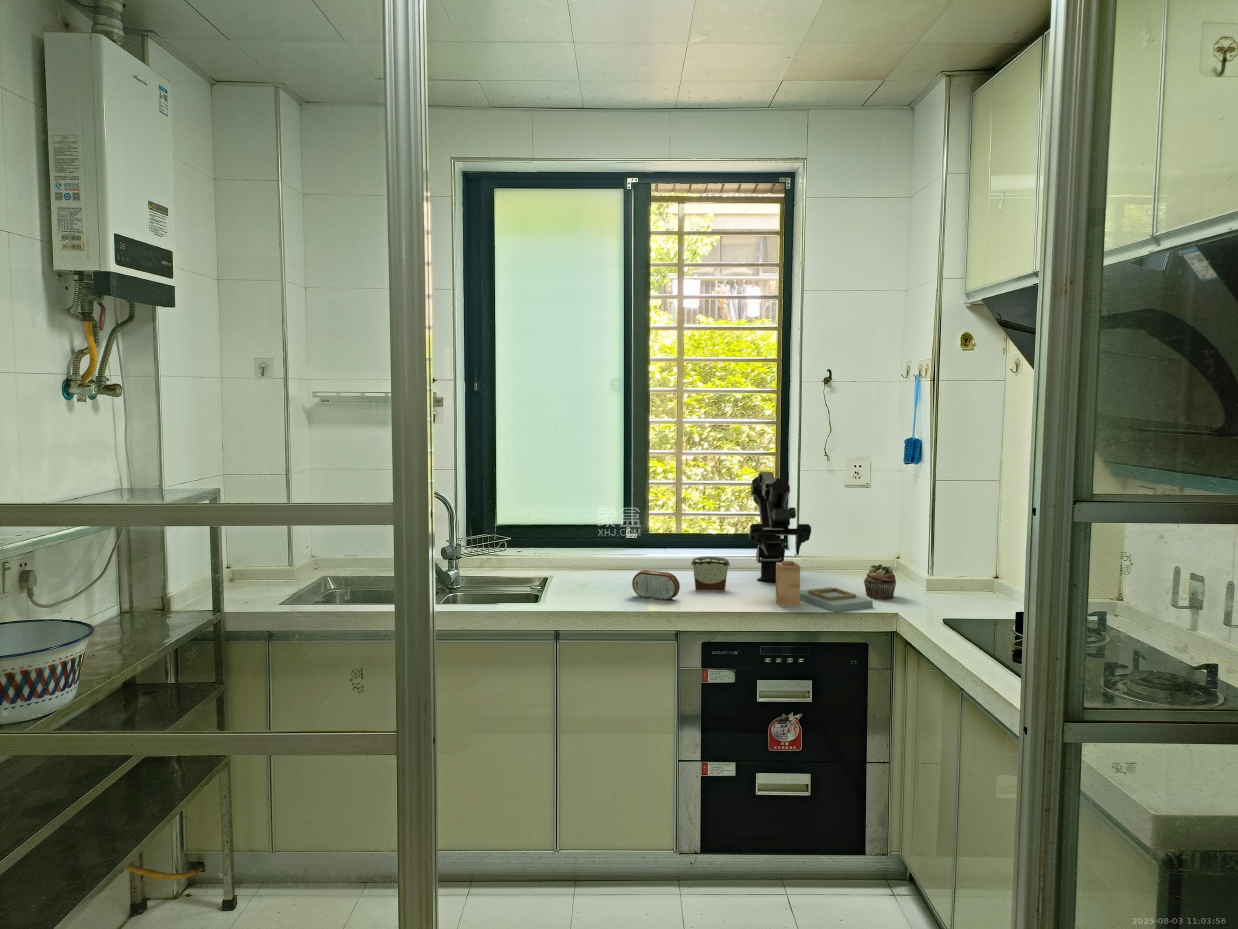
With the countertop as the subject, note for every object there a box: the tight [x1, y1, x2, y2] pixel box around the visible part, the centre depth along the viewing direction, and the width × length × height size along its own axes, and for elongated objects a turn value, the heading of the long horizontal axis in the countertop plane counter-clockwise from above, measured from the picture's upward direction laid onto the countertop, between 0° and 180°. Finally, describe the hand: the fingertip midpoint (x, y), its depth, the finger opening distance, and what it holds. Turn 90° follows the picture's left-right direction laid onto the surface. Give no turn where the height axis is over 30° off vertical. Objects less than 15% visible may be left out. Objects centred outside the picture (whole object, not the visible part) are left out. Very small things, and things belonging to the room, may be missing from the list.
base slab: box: [800, 586, 874, 613], centre depth 250 cm, size 20×14×3 cm
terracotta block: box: [775, 560, 801, 608], centre depth 247 cm, size 6×6×13 cm
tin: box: [631, 569, 681, 601], centre depth 254 cm, size 15×3×8 cm, turn 65°
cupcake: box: [863, 563, 897, 601], centre depth 257 cm, size 10×10×10 cm
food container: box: [690, 556, 731, 592], centre depth 268 cm, size 12×6×10 cm, turn 84°
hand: (782, 554), depth 254 cm, fingers open, 9 cm apart
